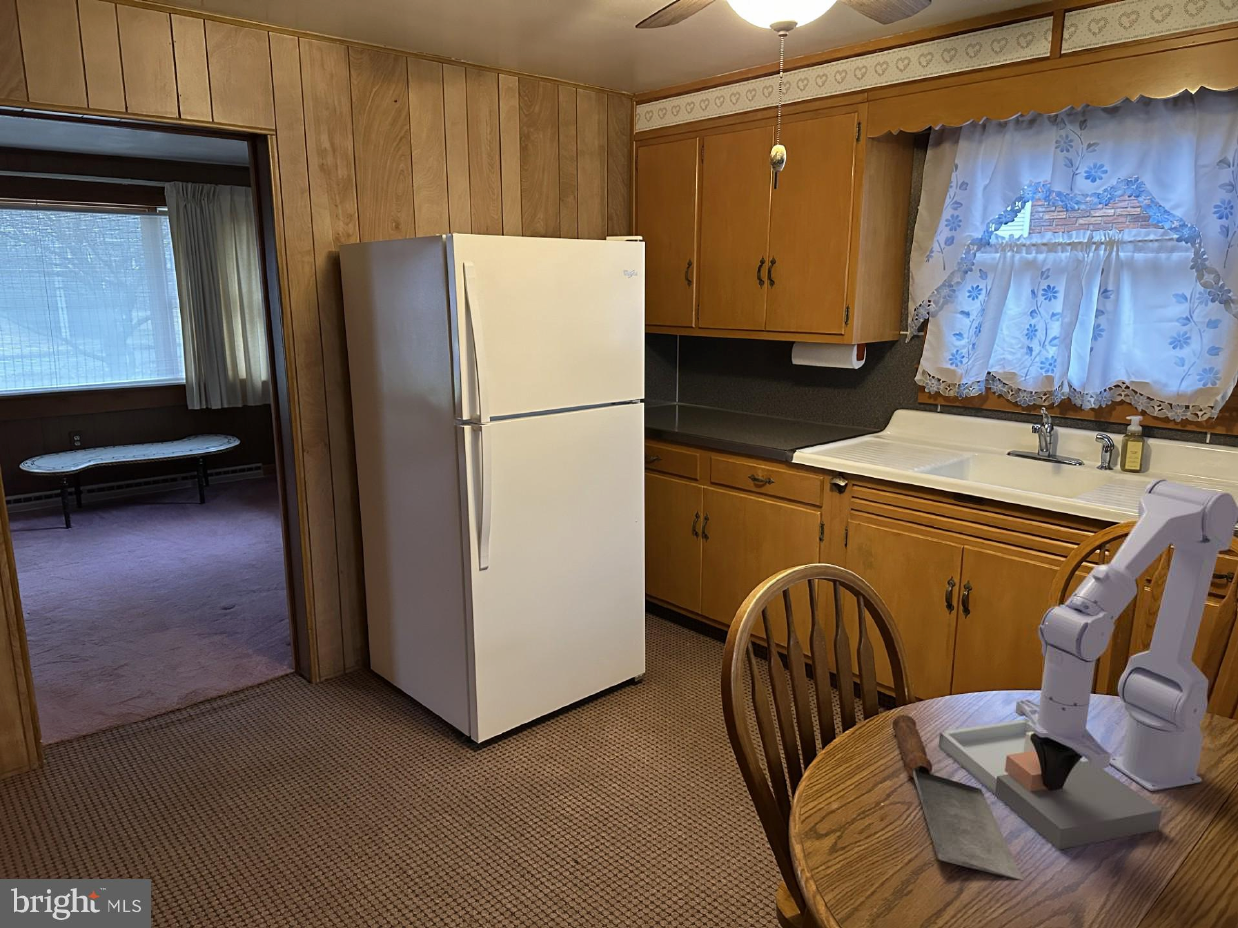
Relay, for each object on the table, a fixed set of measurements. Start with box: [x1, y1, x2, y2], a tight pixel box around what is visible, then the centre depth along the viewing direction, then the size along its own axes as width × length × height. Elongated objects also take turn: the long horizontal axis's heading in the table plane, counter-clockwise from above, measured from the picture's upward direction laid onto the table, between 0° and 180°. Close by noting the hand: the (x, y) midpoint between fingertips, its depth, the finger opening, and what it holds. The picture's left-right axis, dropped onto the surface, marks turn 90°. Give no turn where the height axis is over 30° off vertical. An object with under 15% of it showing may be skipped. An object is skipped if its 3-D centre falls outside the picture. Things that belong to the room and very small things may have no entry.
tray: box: [938, 718, 1087, 796], centre depth 127 cm, size 16×13×2 cm
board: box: [994, 760, 1163, 850], centre depth 115 cm, size 16×12×3 cm
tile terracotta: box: [1005, 750, 1047, 791], centre depth 118 cm, size 5×5×2 cm
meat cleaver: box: [891, 714, 1024, 881], centre depth 119 cm, size 34×11×4 cm, turn 172°
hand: (1052, 786), depth 114 cm, fingers closed
